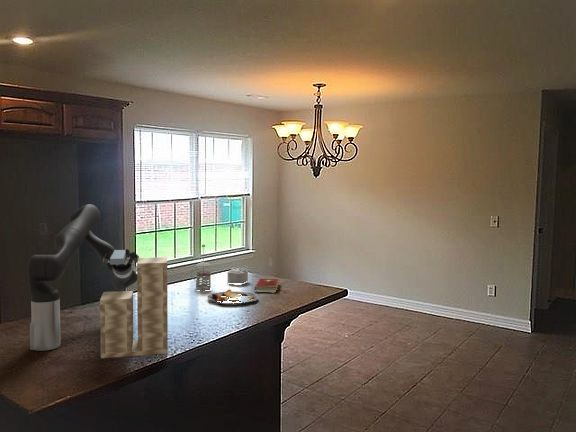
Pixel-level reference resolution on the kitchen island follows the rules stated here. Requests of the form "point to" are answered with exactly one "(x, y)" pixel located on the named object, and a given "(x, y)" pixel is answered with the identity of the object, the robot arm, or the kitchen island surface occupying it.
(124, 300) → the stepped stand
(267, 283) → the hardcover book
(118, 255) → the blue-grey flat bar
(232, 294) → the food plate
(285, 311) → the kitchen island surface
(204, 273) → the french press
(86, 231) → the robot arm
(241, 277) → the lumpy-topped squat cylinder
